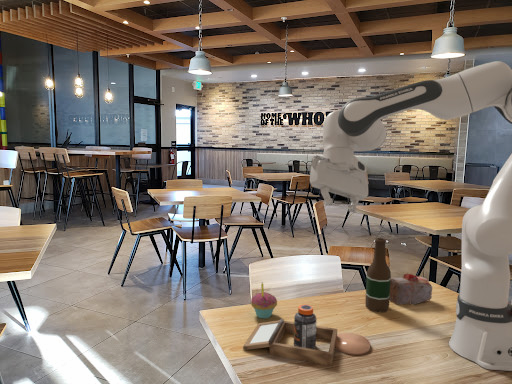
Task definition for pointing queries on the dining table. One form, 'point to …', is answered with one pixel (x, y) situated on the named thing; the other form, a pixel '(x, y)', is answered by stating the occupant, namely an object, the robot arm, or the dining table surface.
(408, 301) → the food item
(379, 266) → the beer bottle
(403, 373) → the dining table surface
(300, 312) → the pill bottle
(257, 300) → the cupcake
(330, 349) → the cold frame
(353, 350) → the pink round plate
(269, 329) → the lid
